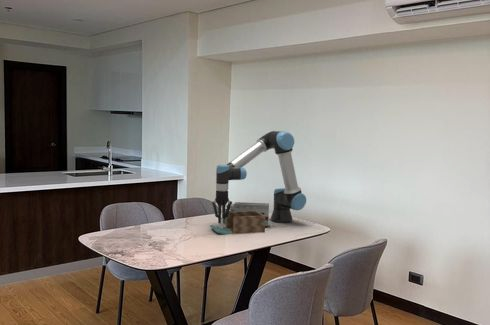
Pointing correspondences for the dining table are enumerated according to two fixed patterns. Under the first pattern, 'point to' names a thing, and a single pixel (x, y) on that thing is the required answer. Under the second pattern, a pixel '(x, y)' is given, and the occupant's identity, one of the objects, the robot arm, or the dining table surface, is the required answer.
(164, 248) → the dining table surface
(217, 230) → the tailgate
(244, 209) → the grey rectangular block
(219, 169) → the robot arm
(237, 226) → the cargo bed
